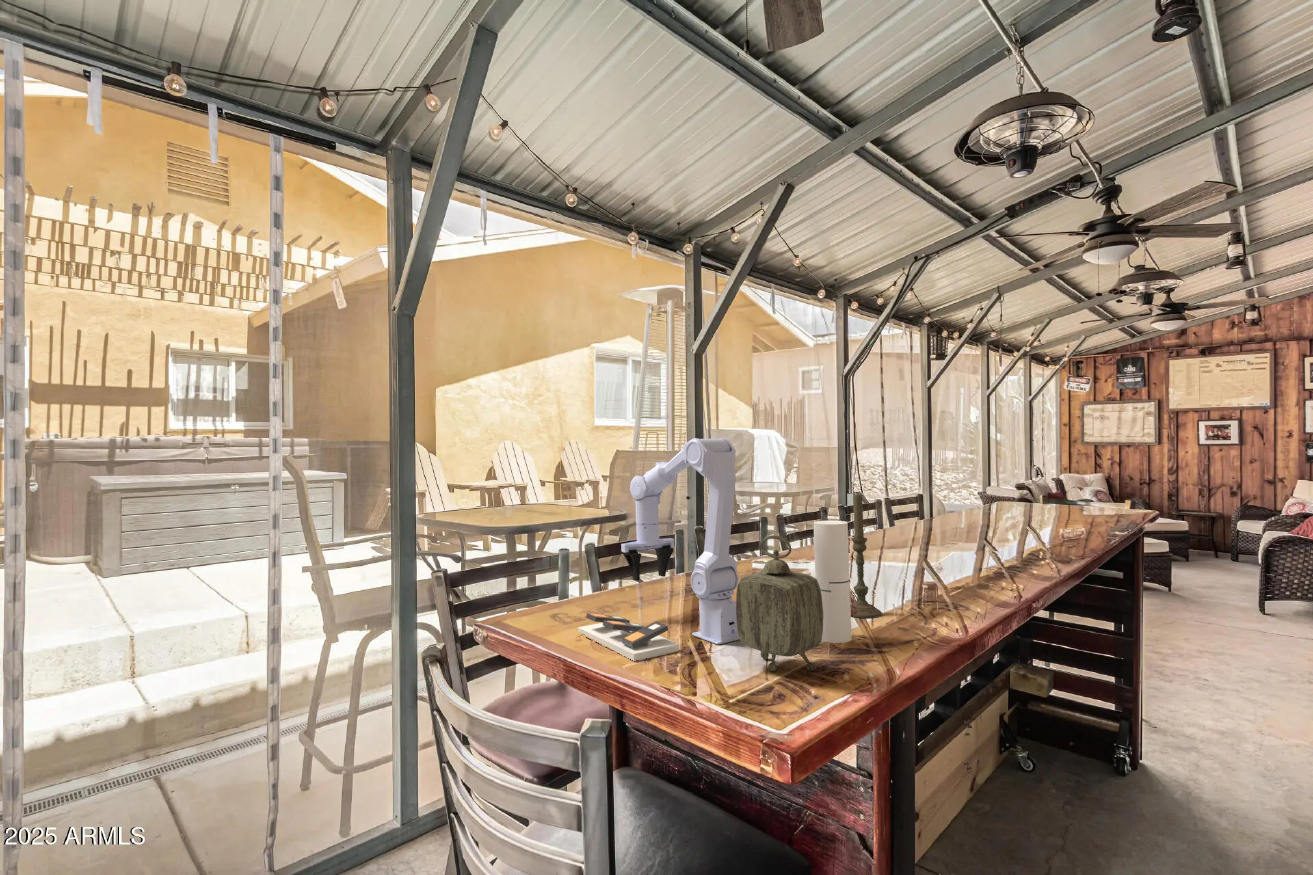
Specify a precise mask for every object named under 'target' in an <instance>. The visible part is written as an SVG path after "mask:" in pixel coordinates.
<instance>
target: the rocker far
mask: <svg viewBox="0 0 1313 875" xmlns="http://www.w3.org/2000/svg"><path fill="white" fill-rule="evenodd" d="M585 618H586V619H588V620H590V621H592V622H595V623H603V621H617V622H625V623H631V622H630V621H631V620H630V619H627V618H625V617H622V616H616V615H609V614H608V615H607V614H599V613H586V617H585Z"/></svg>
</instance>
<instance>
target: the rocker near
mask: <svg viewBox="0 0 1313 875" xmlns="http://www.w3.org/2000/svg"><path fill="white" fill-rule="evenodd" d="M667 631H669V627H668V625H667V624H664V623H661V622H659V621H653V622H652V623H651V624H649V625H645V627H644V628H642V629H640V630H638V631H636V632H634V633H632V634H630V635H628V636H626V637H624V638H622V639H621V640H622V644H625V645H627V646H629V647H631V648H635V647H637V646H639V645H641V644H643V643H645V642H647V641H649V640H650V639H652V638H654V637H656V636H658V635H659V636H661V635H662V634H664V633H666V632H667Z"/></svg>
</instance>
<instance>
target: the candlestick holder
mask: <svg viewBox="0 0 1313 875" xmlns="http://www.w3.org/2000/svg"><path fill="white" fill-rule="evenodd" d="M855 493H856V494H853V495H852V501H853V502H852V504H853V526H854V527H853V530H854V537H851V542H853V545H852V550H853V551H854V552H855V553H856V556H855V557H856V558H855V564H856V575H857V583H856V585H854V586H853V590H854V594H855V595H856V596H857V597H856V598H857V599H856V601H854V602H853V603H850V608H851V618H857V619H874V618H879V617H881V616H882V610H880V609H878V608H877V607H876V606H874V605H873V604H871V603H869V602H868V601H867V598H866V595H868V592H869V587H868V586H867V585H866V583H865V580H864V576H865V573H864V572H865V571H864V568H865V567H864V565H865V558H864V557H865V556H864V553H863V552H865V551H866V550H867V545H866V543H867V542H868V537H865V535H864V534H865V533H864V532H865V531H864V510H863V509H864V508H863V507H864V506H863V494H858V492H857V491H856V492H855Z"/></svg>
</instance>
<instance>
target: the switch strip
mask: <svg viewBox="0 0 1313 875" xmlns="http://www.w3.org/2000/svg"><path fill="white" fill-rule="evenodd" d="M578 632H581V633H582V634H585V635H586V636H589V637H590V638H591V639H594V640H595V641H597V642H599V643H602V644H603V645H605V646H607V647H609V648H611V649H613V650H615V651H616V652H618V653H620V654H622V655H623V656H622V657H624V656H626V657H627V658H626V657H625V658H626V659H628V658H629V659H628V660H630V659H631V660H630V661H632V660H633V661H632V662H634V661H635V660H639V661H643V660H646V658H647V659H652V658H656V657H659V656H660V657H661V656H664V655H669V654H672V653H677V652H680V643H679V642H676V641H673V640H671V639H668V638H665V637H663V636H661V635H658V636H656V637H654V638H652V639H650V640H649V641H647V642H645V643H643V644H641V645H639V646H637V647H635V648H631V647H629V646H627V645H625V644H622V640H621V639H622V638H624V637H626V636H628V635H630V634H632V633H634V632H636V631H625V630H614V629H610V628H608V627H606V626H604V625H603V622H598V623H594V624H589V625H583V626H578V627H577V633H578ZM635 662H636V661H635Z"/></svg>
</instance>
